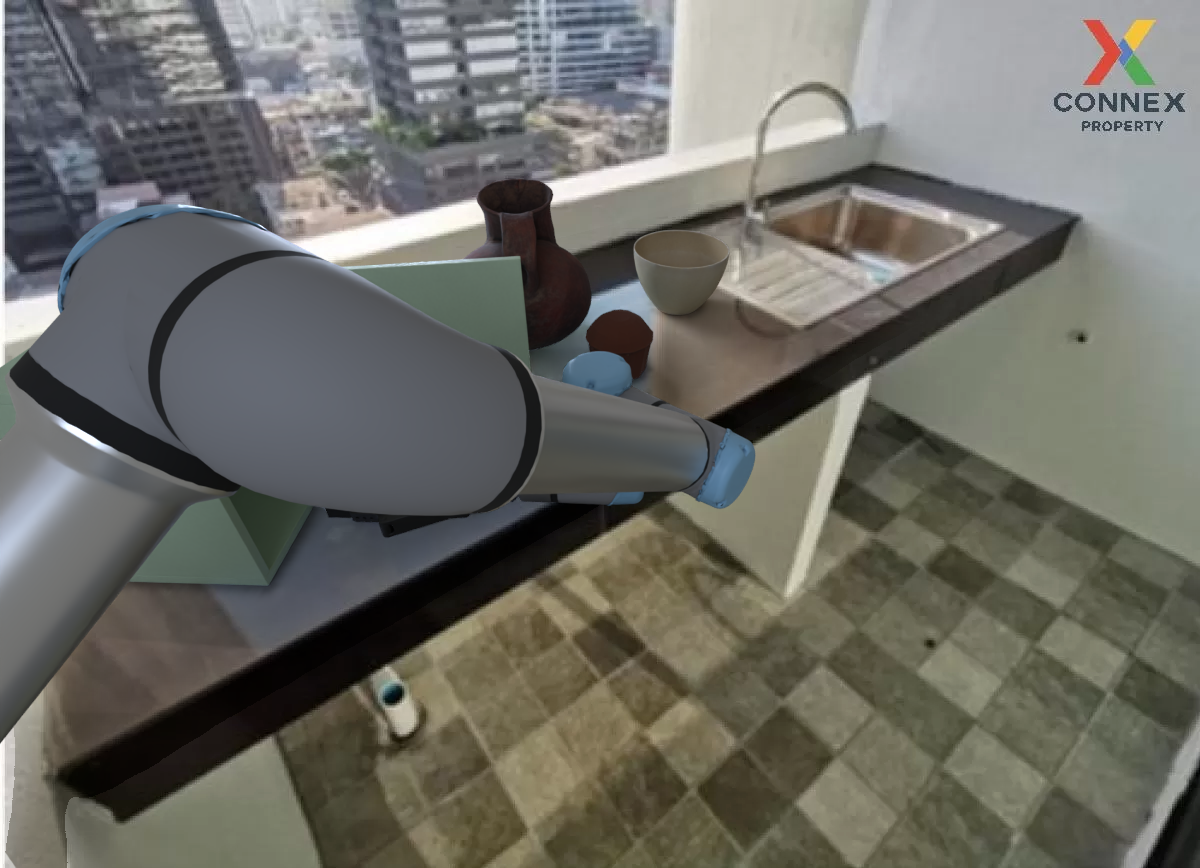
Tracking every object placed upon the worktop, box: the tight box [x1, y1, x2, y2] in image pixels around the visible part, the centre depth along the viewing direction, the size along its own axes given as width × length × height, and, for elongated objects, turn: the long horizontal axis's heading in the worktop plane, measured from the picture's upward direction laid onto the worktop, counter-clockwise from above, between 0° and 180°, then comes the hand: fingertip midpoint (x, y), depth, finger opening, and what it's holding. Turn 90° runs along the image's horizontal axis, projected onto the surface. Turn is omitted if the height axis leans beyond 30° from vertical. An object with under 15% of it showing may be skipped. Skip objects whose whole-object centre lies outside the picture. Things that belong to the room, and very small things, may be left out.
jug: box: [463, 178, 592, 351], centre depth 105 cm, size 25×25×25 cm
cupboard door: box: [342, 256, 532, 372], centre depth 84 cm, size 7×26×26 cm, turn 98°
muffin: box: [584, 308, 654, 380], centre depth 100 cm, size 12×11×10 cm
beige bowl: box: [633, 229, 731, 316], centre depth 117 cm, size 18×18×12 cm
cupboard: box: [0, 348, 315, 587], centre depth 71 cm, size 18×26×26 cm
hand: (347, 467), depth 75 cm, fingers open, 13 cm apart
